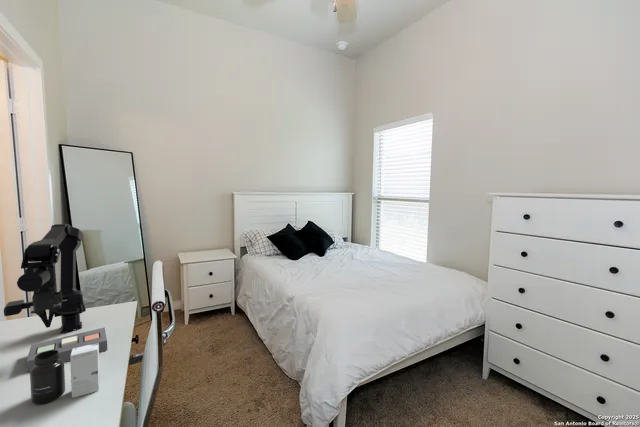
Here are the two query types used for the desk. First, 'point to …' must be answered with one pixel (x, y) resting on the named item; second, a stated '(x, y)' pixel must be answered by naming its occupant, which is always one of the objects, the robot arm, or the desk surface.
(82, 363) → the skincare box
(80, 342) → the keyguard
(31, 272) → the robot arm
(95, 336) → the terracotta key
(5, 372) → the desk surface
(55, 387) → the supplement bottle
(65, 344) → the cream key
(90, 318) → the desk surface
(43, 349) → the sage key
